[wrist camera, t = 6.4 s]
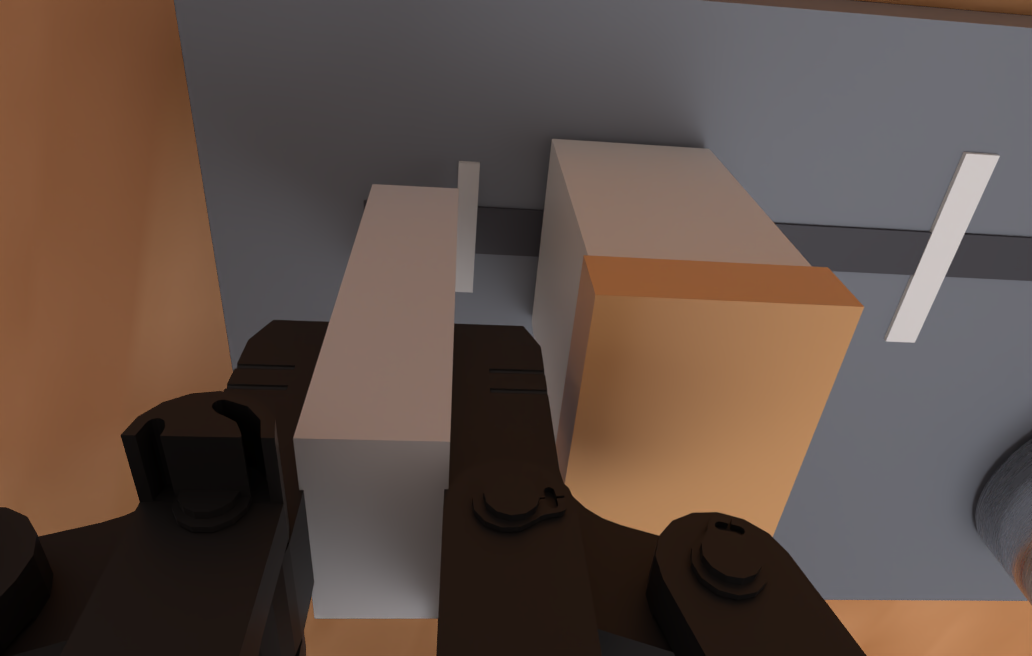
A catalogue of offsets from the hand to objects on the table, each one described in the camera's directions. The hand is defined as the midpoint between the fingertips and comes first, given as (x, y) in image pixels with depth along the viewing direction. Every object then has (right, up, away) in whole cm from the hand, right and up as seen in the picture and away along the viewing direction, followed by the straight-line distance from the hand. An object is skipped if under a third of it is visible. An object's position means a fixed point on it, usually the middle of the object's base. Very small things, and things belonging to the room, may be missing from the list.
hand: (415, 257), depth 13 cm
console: (+9, -2, +6) cm, 11 cm away
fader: (+4, +1, +1) cm, 4 cm away
